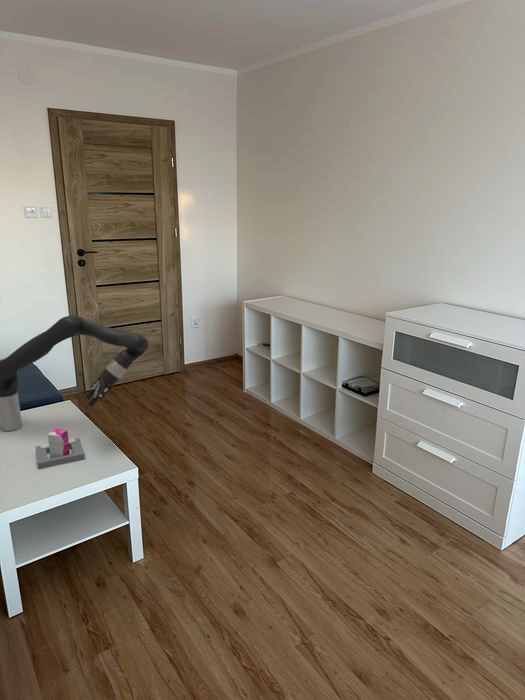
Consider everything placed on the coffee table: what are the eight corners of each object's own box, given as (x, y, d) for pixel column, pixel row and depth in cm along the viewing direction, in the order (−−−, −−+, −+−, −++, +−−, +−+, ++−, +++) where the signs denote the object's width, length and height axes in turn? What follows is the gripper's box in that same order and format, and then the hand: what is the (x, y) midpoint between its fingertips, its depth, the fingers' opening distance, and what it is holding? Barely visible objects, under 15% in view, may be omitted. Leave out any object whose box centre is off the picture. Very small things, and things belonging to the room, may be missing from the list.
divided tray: (36, 451, 215) (35, 445, 214) (79, 442, 222) (79, 437, 222) (38, 469, 201) (37, 462, 200) (85, 459, 209) (84, 453, 208)
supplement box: (62, 460, 208) (59, 435, 204) (50, 459, 209) (46, 434, 205) (70, 453, 213) (67, 429, 210) (58, 452, 214) (54, 428, 211)
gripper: (103, 362, 218) (78, 391, 216) (109, 372, 206) (83, 403, 204) (116, 372, 222) (92, 400, 220) (123, 382, 209) (98, 412, 208)
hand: (88, 401), depth 212 cm, fingers open, 8 cm apart
